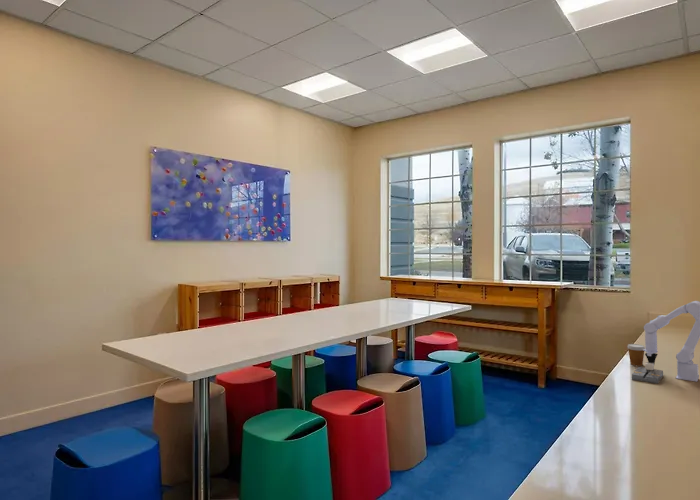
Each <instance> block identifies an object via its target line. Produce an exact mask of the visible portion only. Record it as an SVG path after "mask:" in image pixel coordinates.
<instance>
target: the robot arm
mask: <svg viewBox="0 0 700 500" xmlns="http://www.w3.org/2000/svg"><path fill="white" fill-rule="evenodd" d="M688 313H689V314H690V315H691V316H692V317H693V319H694V320H695V321H694V323H693V326H692V328H691V330H690V332H689V335H688V336H687V338H686V340H685V343H684V345H683V346H682V348H681V350H680V351H679V352H677V353H676V356H675V358H676V360H677V361H676V362H677V363H676V366H677V367H676V369H677V372H676V373H677V375H676V377H675V379H677V380H684V381H692V382H698V380H699V378H700V375H699V364H698V363H694V361H693V359H694V358H695V351H696V346H697V345H698V343H699V340H700V301H699V300H694V301H693V300H692V301H691V302H688V303H687V304H683V305H681V306H679V307H677V308H675V309H674V310H672V311H671V312H669V313H667V314H666V315H664V314H661V315H660V314H659V315H657V316H656V318H654V319H653V320H652V319H651V320H649V322H647V323H645V324H643V325H644V326H643V330H644V334H645V335H644V342H645V344H644V347H645V349H643V351H644V356H645V357H646V360H647V362H648V363H654V365H655V363H656V358H657V357H658V353H659V351H658V334H657V333H658V332H657V331H659V330H660V329H662V328H664V327H665V326H667V325H669V324H670V322H671V320H673V319H675V318H677V317H678V316H680V315H682V314H688ZM645 352H646V353H645Z"/></svg>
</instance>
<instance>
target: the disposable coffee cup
mask: <svg viewBox="0 0 700 500" xmlns="http://www.w3.org/2000/svg"><path fill="white" fill-rule="evenodd" d="M643 349H645V345H643V344H640V343H630V344H629V343H628V344H627V350H628V355H629V362H630V365H631V366H636V365H637V366H638V367H641V366H643V363H644V357H645V351H643Z"/></svg>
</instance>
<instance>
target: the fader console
mask: <svg viewBox="0 0 700 500" xmlns="http://www.w3.org/2000/svg"><path fill="white" fill-rule="evenodd" d="M663 377H664V370H663V369H662V370H661V369H655V368H654V370H651V371H650V372H649V370H647V369H645V367H641V366H638V367H637V368H636V369H635V370H634V371H633V372H632V373H631V380H632V381H639V382H643V383H644V382H645V383H650V384H657V385H658V384H659V383H660V382H661V381H662V378H663Z"/></svg>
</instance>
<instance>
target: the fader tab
mask: <svg viewBox="0 0 700 500" xmlns="http://www.w3.org/2000/svg"><path fill="white" fill-rule="evenodd" d="M644 368H645V369H647V370H649V372H650V371H651V370H654V369H655V364H654V363H648V361H647V362H645V367H644Z"/></svg>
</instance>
